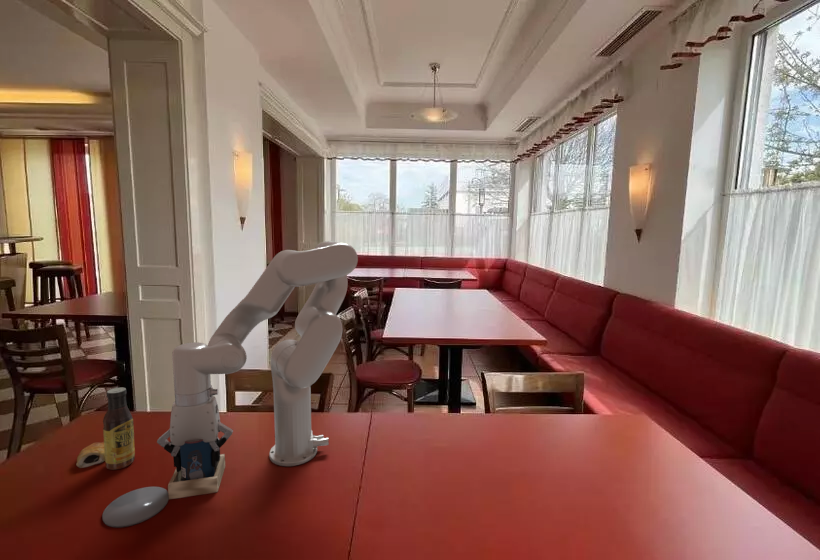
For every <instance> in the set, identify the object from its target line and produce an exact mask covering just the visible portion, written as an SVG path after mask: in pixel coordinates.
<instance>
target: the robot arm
mask: <svg viewBox="0 0 820 560" xmlns="http://www.w3.org/2000/svg"><path fill="white" fill-rule="evenodd" d="M358 261H359V257H358V253H357V251H356V249H355V248H354V247H353V246H352V245H350V244H348V243H346V242H341V241H331V240H328V241H327V240H326V241H321V242H319V243H318V244H316V245H315V246H314V248H313V249H306V250H300V251H298V250H294V249H293V250H292V249H285V250H281V251H280V252H278V253H276V254H275V256H274V257H273V258H272V259H271V261H270V262H269V264H268V265H267V266H266V268H265V269H264V271H263V272H262V274H260V276H259V278H258V279H257V281H255V283H254V285H253V286H252V287H251V289H250V290H249V291H248V292H247V294H246V296H244V298H242V300H240V301H239V303H238V304H237V305H236V306H235V307H234V308H233V309H232V310H231V311H230V312H229V313H228V314H227V315H226V316H225V317H224V319H223V320H222V322H221V323H220V324H219V326H218V327H217V328H216V330H215V331H214V332H213V334H212V335H211V336H210V339H209V340H208V343H203V342H199V341H198V342H197V341H196V342H194V341H193V342H187V343H181V344H180V345H177V346H176V347H174V348H173V350H172V353H171V355H172V356H171V358H172V359H171V360H172V361H171V362H172V371H173V372H172V373H173V385H174V386H173V388H174V401H173V403H172V405H171V410H170V412H171V413H170V422H169V429H168V430H167V431H165V432H164V433H163V434H162V435H161V436H159V438H158V439H157V441H156V443H157V444H158V445H159V446H161V447H162V448H163V450H165V451H166V452H168V453H169V454H170V456H171V457H172V458H173V467H174V468H175V470H177V472H180V471H181V457H180V446H182V445H184V444H185V441H186V442H195V441H199V440H202V439H203V441H204V442H209V443H210V445H211V447H212V448H213V450H212V467H216V464H217V462H218V461H220V455H221V447H223V445H225V443H226V442H227V441H228V439H230V437H231V436H232V435H233V433H234V430H233V429H232V428H230V427H229V426H227V425H226V424H224V423H223V422H221V417H220V411H219V405H218V402H217V398H216V395H218V394H219V389H218V388H214V387H213V385H212V380H211V379H212V377H211V375H228V374H233V373H236V372H238V371H240V370H241V369H243V367H244V366H245V364H246V362H247V357H248V356H247V351H246V350H245V348H244V347H243V346H242V344H243V343H244V341H245V340H246V339H247V337H248V336H249V335H250V333H251V332H252V331H253V330H254V329H255V327H257V326H258V325H259V324H261V323H262V322H263V321H266V320H269V319H271V318H273V317H274V316H276V315H277V314H278V312H279V311H280V310H281V308H282V307H283V305H284V304H285V302H286V301H287V299H288V298H289V296H290V295H291V293H292V292H293V291H294V289H295V287H306V286H311V285H312V286H313V285H315V286H314V288H313V290H312V292H311V294H310V295H309V296H308V299H307V300H306V302H305V303H304V305H303V307H302V309H301V310H300V311H299V313H298V315H297V317H296V319H295V322H294V328H295V331H296V333H297V334H298V335H299V336H300V339H299V340H296V339H285V340H284V339H283V340H282V341H280V342H279V343H277V344H276V345H275V346H274V348H273V350H272V351H271V355H270V370H271V371H270V372H271V377H272V388H273V389H272V390H273V412H274V413H273V414H274V415H273V417H274V445H273V446H272V447H271V448H270V450H269V454H268V455H269V459H270V462H272V463H273V464H275V465H277V466H281V467H295V466H300V465H303V464H306V463H307V462H309V461H311V460H312V459H314V457H315V456H316V455H317V453H318V447H321V446H322V447H323V446H329V441H330V440H329V437H324V434H319V435H315V434H313V430H312V401H311V398H312V396H311V395H312V394H311V393H312V392H311V386H312V385H313V384H315V383H316V382H317V381H318V379H319V378H320V376H321V375H322V374H323V372H324V370H325V368H326V367H327V366H328V364H329V362H330V360H331V358H332V357H333V354H334V353H335V351H336V350H337V348H338V346H339V344H340V341H341V339H342V337H343V324H342V321H341V318H340V317H339V316H338V315H337V313H338V311H339V310H340V308H341V306H342V304H343V302H344V300H345V297H346V294H347V291H348V286H349V285H348V284H349V283H348V281H349V280H348V275H349V274H351V273H353V271H354V270H355V268H357V265H358ZM220 432H221V433H223V435H222V436H221V437H220V438H219V433H220ZM168 438H169V439H170V441H169V439H168Z"/></svg>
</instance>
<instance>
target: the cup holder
mask: <svg viewBox="0 0 820 560" xmlns="http://www.w3.org/2000/svg"><path fill="white" fill-rule="evenodd" d="M225 455H226V454H225V453H220V461H218V462H217V464H216V467H214V472H215V474H214V477H208V478H201V479H194V480H187V481H182V473H181V471H180V472H177V470H176V469H175V470H174V473H173V475H172V476H171V478H170V480H169V482H168V485H167V491H168V494H169V500H174V499H181V498H188V497H193V496H201V495H207V494H214V493H218V492H219V490H220V489H219V488H220V485H221V482H222V479H223V476H224V472H225V468H226V457H225Z"/></svg>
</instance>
